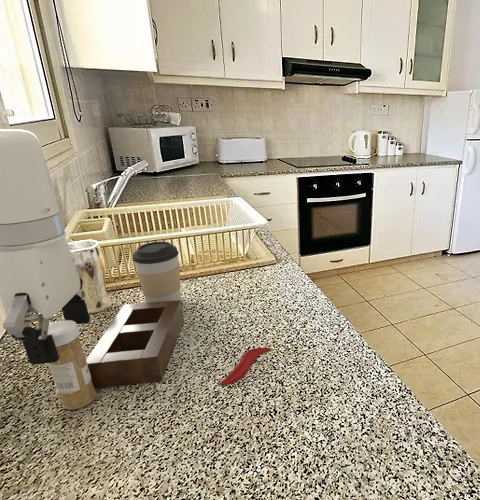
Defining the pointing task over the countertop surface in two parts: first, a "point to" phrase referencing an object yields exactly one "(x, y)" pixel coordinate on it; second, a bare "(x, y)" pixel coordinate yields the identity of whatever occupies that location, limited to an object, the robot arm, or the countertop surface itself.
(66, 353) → the sprinkles bottle
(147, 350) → the holder
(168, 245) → the coffee cup
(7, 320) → the robot arm
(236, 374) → the cayenne pepper
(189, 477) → the countertop surface
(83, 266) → the beer glass
